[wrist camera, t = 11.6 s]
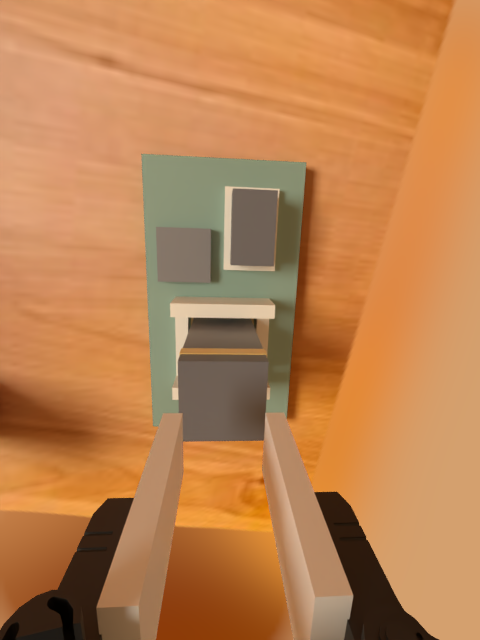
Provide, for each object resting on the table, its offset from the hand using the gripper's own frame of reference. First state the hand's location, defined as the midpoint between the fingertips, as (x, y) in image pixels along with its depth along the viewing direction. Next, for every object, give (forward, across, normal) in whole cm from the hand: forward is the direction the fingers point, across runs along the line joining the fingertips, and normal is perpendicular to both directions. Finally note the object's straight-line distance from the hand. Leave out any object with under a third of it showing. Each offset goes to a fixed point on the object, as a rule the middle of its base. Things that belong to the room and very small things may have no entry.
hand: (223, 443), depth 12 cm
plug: (+13, 0, 0) cm, 13 cm away
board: (+15, 0, +3) cm, 15 cm away
